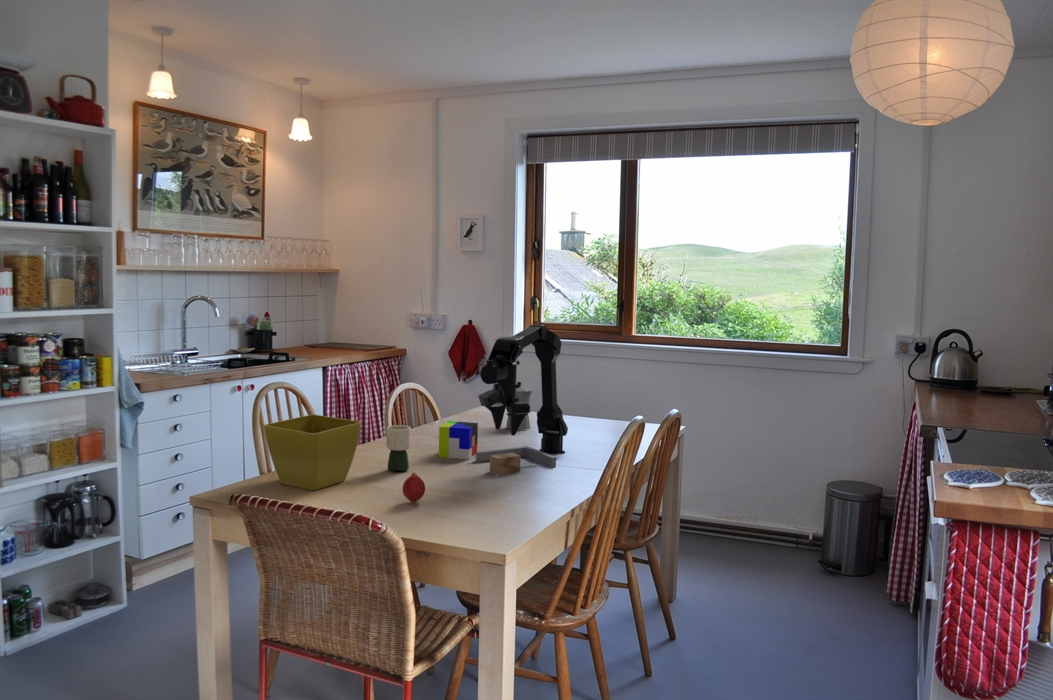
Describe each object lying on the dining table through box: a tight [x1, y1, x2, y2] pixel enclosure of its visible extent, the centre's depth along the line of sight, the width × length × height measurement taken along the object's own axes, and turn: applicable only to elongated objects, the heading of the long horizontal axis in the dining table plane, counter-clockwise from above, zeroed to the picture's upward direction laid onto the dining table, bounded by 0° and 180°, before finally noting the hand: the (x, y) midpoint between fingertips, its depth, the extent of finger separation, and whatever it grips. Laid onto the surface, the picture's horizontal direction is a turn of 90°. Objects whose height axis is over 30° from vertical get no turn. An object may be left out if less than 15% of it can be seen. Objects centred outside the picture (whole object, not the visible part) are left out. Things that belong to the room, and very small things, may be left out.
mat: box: [520, 458, 537, 469], centre depth 244 cm, size 7×10×1 cm
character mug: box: [385, 424, 412, 473], centre depth 232 cm, size 11×7×13 cm, turn 168°
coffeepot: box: [505, 381, 533, 431], centre depth 299 cm, size 15×9×18 cm, turn 44°
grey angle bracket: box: [475, 445, 557, 468], centre depth 244 cm, size 19×17×3 cm
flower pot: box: [263, 414, 362, 491], centre depth 216 cm, size 19×19×17 cm
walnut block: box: [489, 453, 522, 476], centre depth 234 cm, size 8×4×5 cm, turn 124°
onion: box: [402, 472, 426, 504], centre depth 200 cm, size 6×6×8 cm
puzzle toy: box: [438, 420, 479, 460], centre depth 253 cm, size 10×10×10 cm
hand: (505, 432), depth 233 cm, fingers open, 9 cm apart
